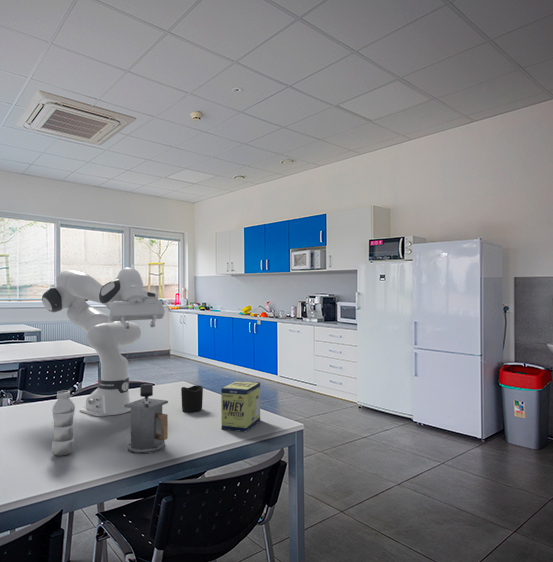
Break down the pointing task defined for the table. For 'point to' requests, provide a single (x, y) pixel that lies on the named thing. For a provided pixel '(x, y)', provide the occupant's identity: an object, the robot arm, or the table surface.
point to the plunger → (146, 391)
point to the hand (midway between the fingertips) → (140, 326)
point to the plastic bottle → (63, 424)
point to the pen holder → (192, 399)
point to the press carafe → (147, 426)
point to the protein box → (240, 405)
